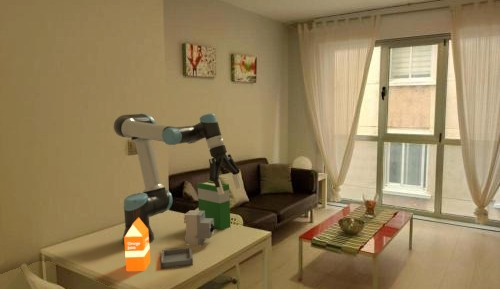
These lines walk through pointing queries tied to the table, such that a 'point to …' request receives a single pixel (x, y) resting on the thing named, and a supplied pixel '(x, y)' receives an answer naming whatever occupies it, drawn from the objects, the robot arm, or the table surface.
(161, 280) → the table surface
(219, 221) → the green box
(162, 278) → the table surface
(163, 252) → the tray
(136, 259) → the juice carton
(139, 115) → the robot arm
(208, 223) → the circuit breaker
